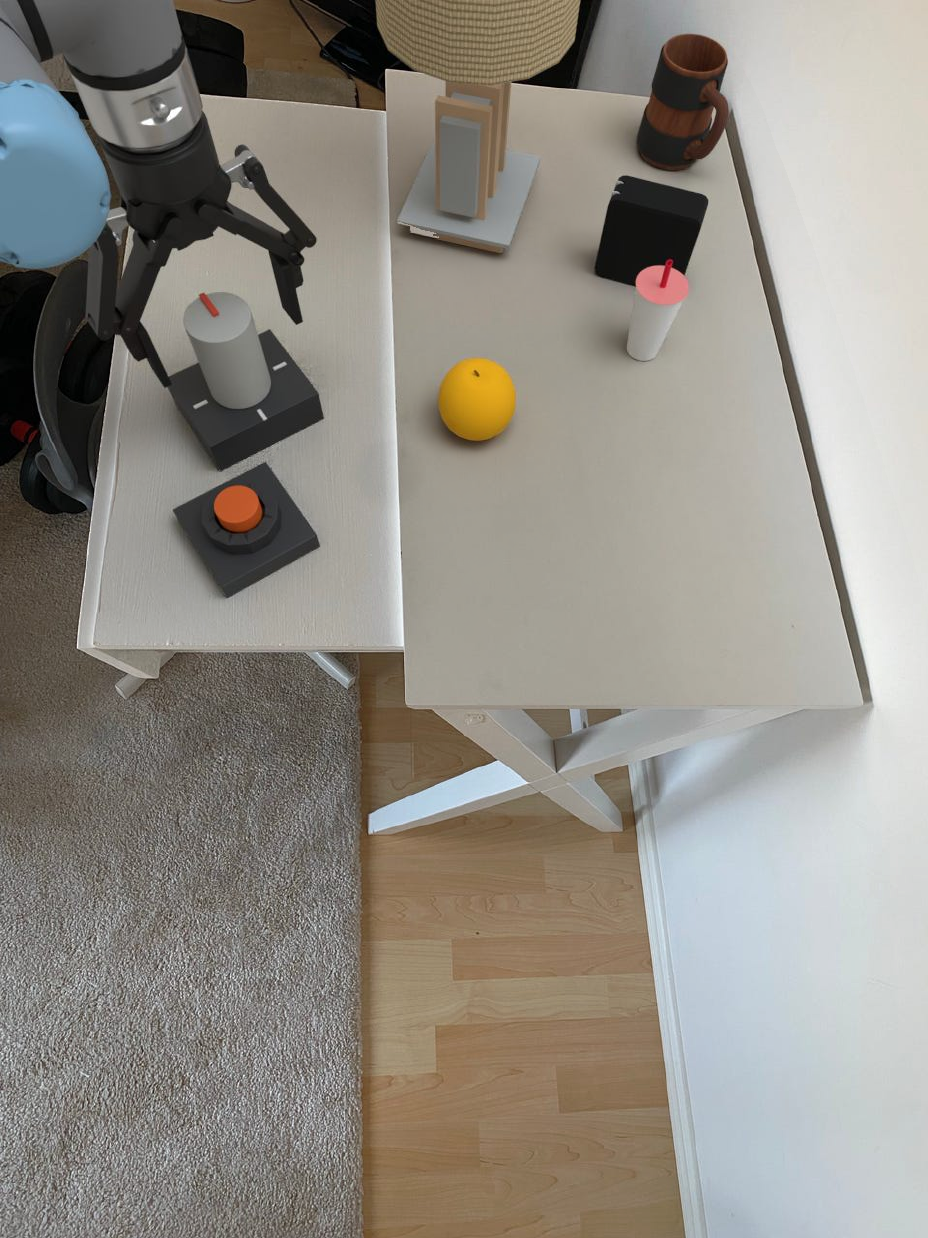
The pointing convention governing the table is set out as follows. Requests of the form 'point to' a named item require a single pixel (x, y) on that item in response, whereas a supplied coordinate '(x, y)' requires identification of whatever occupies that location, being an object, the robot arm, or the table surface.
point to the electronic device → (648, 228)
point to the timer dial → (228, 349)
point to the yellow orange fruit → (477, 399)
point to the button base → (248, 532)
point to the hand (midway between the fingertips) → (228, 345)
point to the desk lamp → (475, 106)
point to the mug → (684, 103)
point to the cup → (654, 309)
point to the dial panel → (253, 427)
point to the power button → (238, 509)
